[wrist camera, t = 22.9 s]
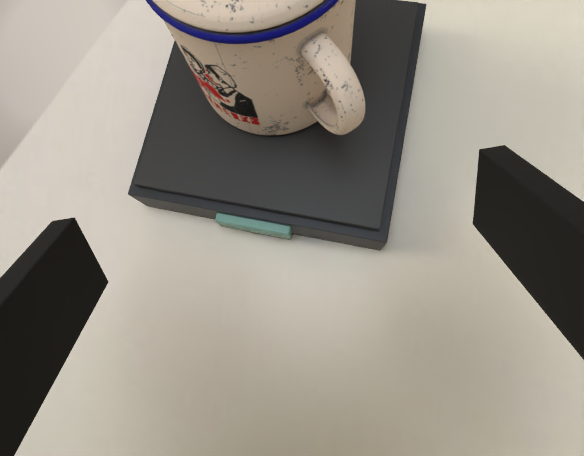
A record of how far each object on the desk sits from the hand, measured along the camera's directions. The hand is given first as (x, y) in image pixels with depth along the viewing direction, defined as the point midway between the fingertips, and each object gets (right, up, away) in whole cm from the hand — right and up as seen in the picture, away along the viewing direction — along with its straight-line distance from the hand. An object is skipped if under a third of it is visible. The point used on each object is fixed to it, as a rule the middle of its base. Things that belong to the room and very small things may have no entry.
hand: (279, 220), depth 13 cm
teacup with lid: (0, +8, +10) cm, 13 cm away
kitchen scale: (0, +7, +13) cm, 15 cm away
